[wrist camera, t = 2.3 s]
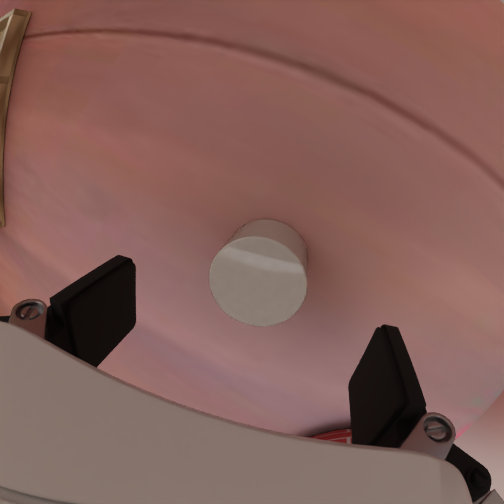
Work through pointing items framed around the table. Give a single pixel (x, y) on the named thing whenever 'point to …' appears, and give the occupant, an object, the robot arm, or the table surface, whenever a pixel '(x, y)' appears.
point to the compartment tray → (8, 73)
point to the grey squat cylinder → (261, 273)
